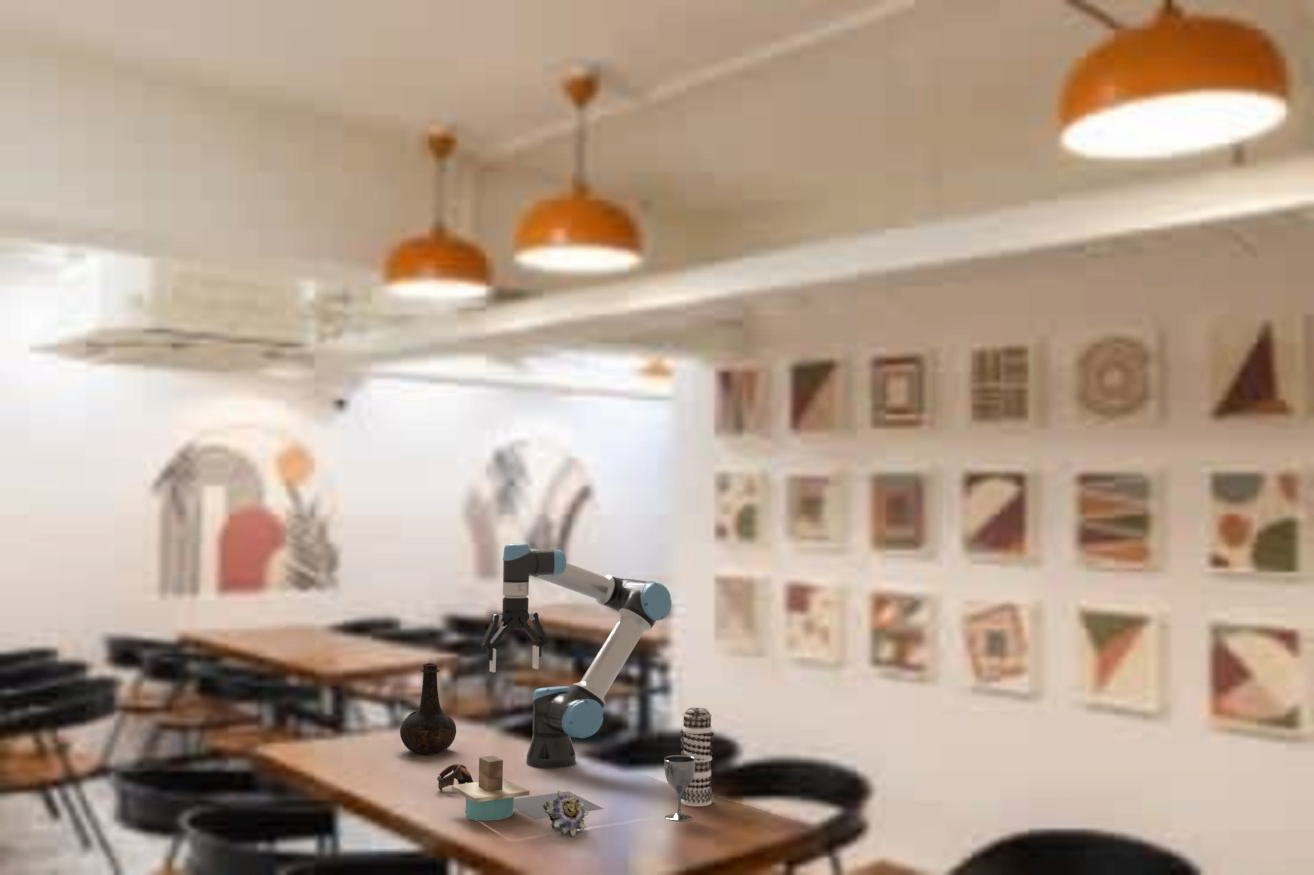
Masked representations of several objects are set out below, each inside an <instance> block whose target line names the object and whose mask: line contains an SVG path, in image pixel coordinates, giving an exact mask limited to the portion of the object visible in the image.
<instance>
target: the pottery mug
mask: <svg viewBox="0 0 1314 875" xmlns="http://www.w3.org/2000/svg"><path fill="white" fill-rule="evenodd" d="M448 774H449V775H448ZM436 780H437V781H438V784H437V788H438V789H439V791H442V790H443V788H447V787H449V786H452V785H455V780H457V783H458V784H465V783H473V782H474V780H473V777H472V775H471V773H470V772H469V770H468V768H467V767H466V766H465V765H464V764H459V763H454V764H451V765H449V766H448V767H446V768H445V769H443V770H442V771H441V772H440V773H439V774H438V776H437V778H436ZM458 784H457V785H458Z"/></svg>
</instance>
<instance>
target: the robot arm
mask: <svg viewBox="0 0 1314 875" xmlns="http://www.w3.org/2000/svg"><path fill="white" fill-rule="evenodd" d="M530 547H531V546H530V545H529V544H528V543H518V542H517V543H507V544H505V545H504V547H503V557H502V561H503V565H502V566H503V568H502V571H503V572H502V575H503V576H502V579H503V580H502V596H504V597H502V608H501V610H502V614H496V613H492V615H491V620H490V621H491V622H490V624H489V625H488V628H487V630H486V632H485V634H484V636H483V638H482V641H481V643H480V646H481V647H483V648H486V659H487V660H488V661H489V672H491V673H496V671H497V670H496V669H497V667H496V666H497V649H496V648H495V647H496V646H497V644H498V643H499V642H500V640H501V639H502V638H503V636H504V635H505V634H506V632H508V631H509V630H516V629H517V630H523V631H525V633H526V634H527V635H528V637H529V639H530V640H531V641H532V642H533V643H534V645H532V656H531V657H532V659H531V661H532V666H531V667H532V669H534V670H539V668H540V666H539V665H540V664H539V661H540V659H539V658H541V657H542V648H543V646H544V645H546V644H548V642H549V641H548V638H547V636H546V634H545V632H544V629H543V627H542V625H541V622H540V619H539V613H538V612H534V611H531V612H530V613H529V598H528V596H529V594H530V593H529V590H530V589H529V588H530V576H531V577H534V578H537V579H539V580H543V581H546V582H547V583H551V584H553V585H557V586H560V587H562V588H565V589H567V590H571V591H573V592H576V593H579V594H581V595H583V596H587V597H590V598H592V599H595V600H596V603H598V604H600V605H603V606H605V607H607V608H609V609H611V610H614V611H616V612H617V613H619V616H620V617H619V619H618V621H617V622H616V624H615V625H614V627H613V629H612V630H611V632H610V634H608V637H607V638H606V640H605V642H604V643H603V645H602V647H601V648H600V649H599V651H598V652H597V654H596V656H595V657H594V660H592V663H591V664H590V666H589V667H588V669H587V670H586V672H585V674H584V675H583V677H582V678H581V680H580V681H579V682H575V683H573V684H572V685H571V686H564V685H563V686H549V687H541V688H540V687H539V688H537V689H535V690H534V692H533V699H532V704H533V705H532V737H531V741H530V745H529V747H528V750H527V754H526V764H527V765H528V766H529V765H530V766H532V767H538V768H549V769H550V768H551V769H552V768H554V769H555V768H562V767H563V768H565V767H568V766H573V765H575V764H576V757H577V756H576V752H575V749H574V745H573V741H572V739H571V738H579V739H584V738H585V739H587V738H589V737H591V736H593V735H595V733H597V732H598V731H599V730H600V728H601V727H602V725H603V721H604V716H603V715H604V710H603V709H604V708H605V706H606V701H605V697H606V695H607V693H608V691H610V690H609V689H610V688H611V686H612V685H613V683H614V681H615V680H616V678H617V676H618V675H619V673H620V672H621V670H622V668H623V666H624V665H625V663H626V662H627V660H628V659H629V657H630V656H631V654H632V652H633V650H634V648H635V647H636V645H637V644H638V642H639V640H640V638H642V635H643V634H644V633H645V632H648V631H651V630H652V628H653V627H654V626H655V623H656V622H657V621H661V620H664V619H665V618H667V617H668V615H669V613H670V611H671V608H672V599H671V593H670V591H669V589H668V588H667V587H666V586H665V585H664V584H662V583H660V582H657V581H655V580H654V581H653V580H649V581H647V580H640V579H630V578H621V577H616V576H613V575H610V574H607V575H604V576H603V575H600V574H599V573H595V572H593V571H590V570H587V569H584V568H582V567H579V566H577V565H574V564H571V563H568V562H567V557H566V555H565V553H564V551H563V550H561V549H553V548H552V549H541V548H530ZM528 620H530V621H531V623H532V624H533V627H534V630H535V631H536V633H535V632H534V631H533V629H532V628H531V626H530V624H529V623H528ZM501 621H502V624H500V627H499V628H498V630H497V631H496V629H497V627H498V625H499V623H500V622H501ZM495 631H496V632H495Z"/></svg>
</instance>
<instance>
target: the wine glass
mask: <svg viewBox="0 0 1314 875" xmlns="http://www.w3.org/2000/svg"><path fill="white" fill-rule="evenodd" d="M663 763H664V773H665V774H664V775H665V778H666V781H667V783H668V784H669V785H670V787H671V788H672V790H674V792H675V795H676V801H677V811H676V813H669V814H667V815H665V819H666V820H668V821H672V822H687V821H691V820H692V819H694V817H693V815H691V814H688V813H683V812H682V810H681V809H682V808H681V805H682V803H681V799H682V794H683V792H684V790H685V789H686V788H687V787H688V786H689V784H690V783H691V782H692V780H693V776H694V770H695V758H694V757H691V756H685V755H681V754H676V755H675V754H674V755H668V756H664V762H663Z"/></svg>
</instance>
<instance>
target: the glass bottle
mask: <svg viewBox="0 0 1314 875" xmlns="http://www.w3.org/2000/svg"><path fill="white" fill-rule="evenodd" d="M440 671H441V670H440V669H438V665H437V664H436V663H431V662H428V663H423V664H422V668H421V669H420V672H421V673H422V687H421V696H420V701H419V702H420V703H419V707H418V710H415V711H413V712H411V713H409V714H408V715H407V717H406V718H404V720H403V721H402V723H401V726H400V729H399V735H400V739H401V742H402V743H403V745H404V746H405V747H406V749H407V750H409V751H410V752H411V753H413V754H416V755H424V754H425V755H434V754H435V753H436V754H439V753H442V752H444V751H445V750H448V748H449V747H450V746H451V745H452V744H453V743H454V741H455V738H456V735H457V726H456V723H455V721H454V720H453V719H452V717H451V716H449V715H448V714H447V713H445V712H443V710H442V707H441V704H440V697H439V689H438V673H439V672H440Z"/></svg>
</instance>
